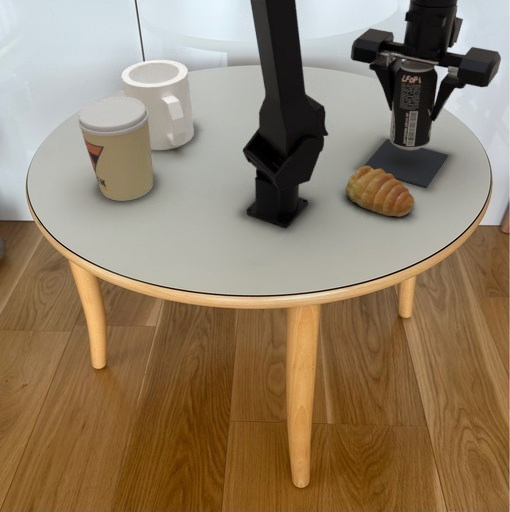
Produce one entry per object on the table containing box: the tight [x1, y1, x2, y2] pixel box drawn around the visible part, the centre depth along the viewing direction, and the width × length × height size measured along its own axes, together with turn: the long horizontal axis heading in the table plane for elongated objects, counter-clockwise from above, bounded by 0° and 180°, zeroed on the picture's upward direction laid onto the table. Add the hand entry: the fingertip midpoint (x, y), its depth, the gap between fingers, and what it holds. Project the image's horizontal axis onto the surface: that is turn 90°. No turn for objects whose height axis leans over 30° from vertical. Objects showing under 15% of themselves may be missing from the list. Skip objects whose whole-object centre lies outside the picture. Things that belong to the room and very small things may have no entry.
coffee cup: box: [77, 95, 154, 202], centre depth 80 cm, size 9×9×12 cm
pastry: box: [344, 165, 416, 217], centre depth 79 cm, size 9×7×4 cm
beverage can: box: [389, 59, 439, 150], centre depth 81 cm, size 6×6×12 cm
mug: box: [121, 59, 195, 151], centre depth 91 cm, size 14×10×11 cm
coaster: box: [363, 138, 449, 189], centre depth 87 cm, size 10×10×1 cm
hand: (413, 114), depth 82 cm, fingers closed on beverage can, 6 cm apart
